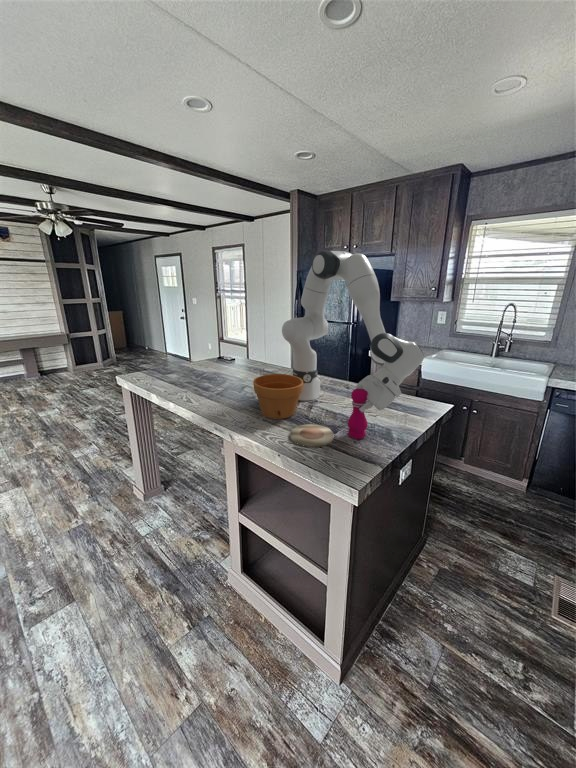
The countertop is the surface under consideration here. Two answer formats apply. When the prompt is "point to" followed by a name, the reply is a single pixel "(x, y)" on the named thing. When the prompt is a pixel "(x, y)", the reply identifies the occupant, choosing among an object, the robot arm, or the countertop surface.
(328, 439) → the disc
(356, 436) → the pepper mill
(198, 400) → the countertop surface
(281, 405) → the flower pot
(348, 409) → the countertop surface
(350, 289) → the robot arm
